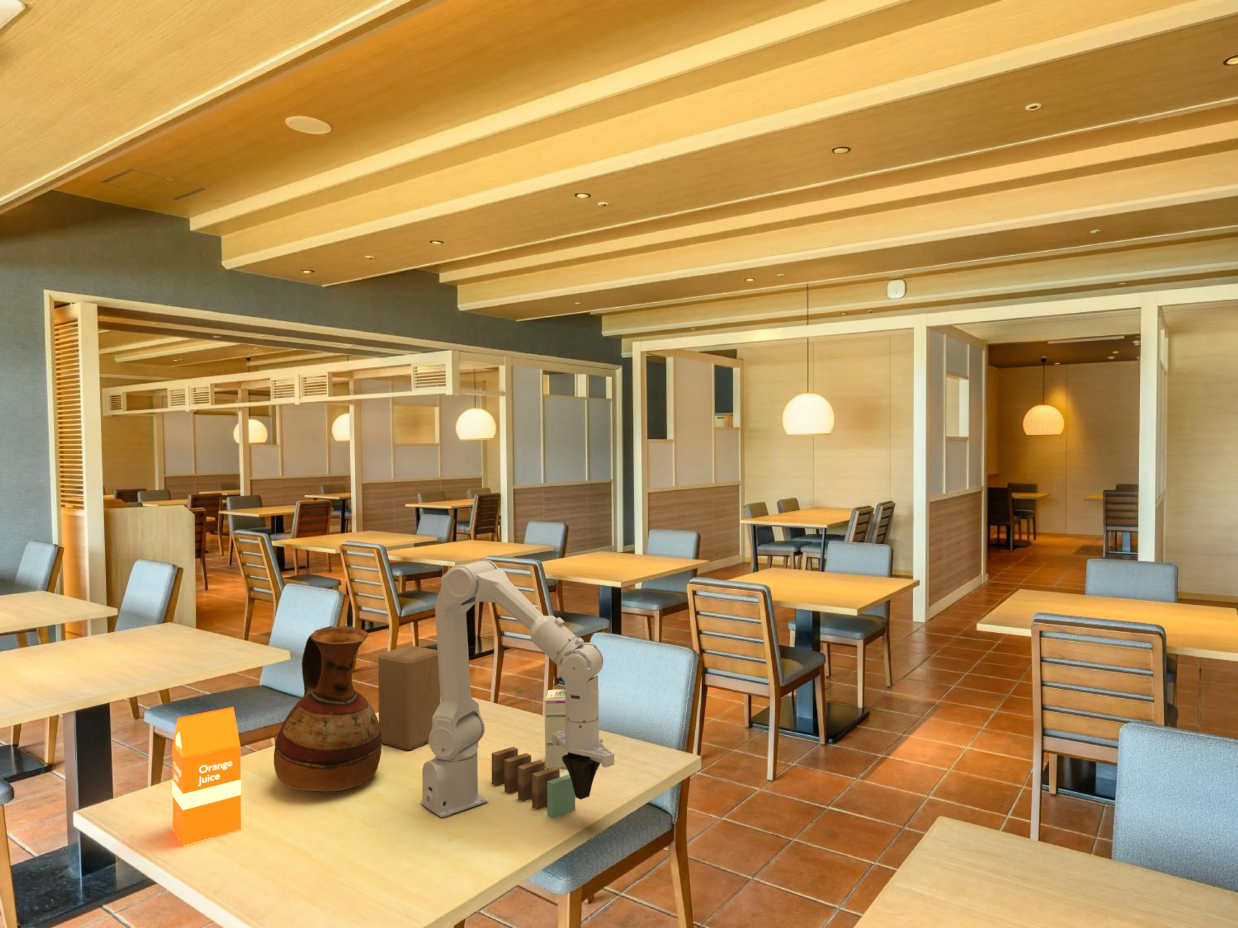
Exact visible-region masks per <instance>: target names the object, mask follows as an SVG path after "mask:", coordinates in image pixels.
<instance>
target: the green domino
mask: <svg viewBox="0 0 1238 928" xmlns="http://www.w3.org/2000/svg"><path fill="white" fill-rule="evenodd" d="M546 810H547V811H546V812H547V813H546V814H547V817H549V818H551V820H552V819H553V818H554V819H556V818H558V817H561V816H563V815H566V814H569V813H572V812H574V811H576V796H575V793H574V789H573V785H572V781H571V778H570V775H569V773H568V774H566V775H563V776H560V777H559V778H556V779H553V780H550V781H547V807H546Z"/></svg>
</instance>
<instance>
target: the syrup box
mask: <svg viewBox="0 0 1238 928" xmlns="http://www.w3.org/2000/svg"><path fill="white" fill-rule="evenodd" d="M560 731H562V732H565V689H562V688H561V689H560V688H559V689H550V690H549V689H548V690H547V693H546V695H544V742H545V743H544V745H545V746H544V747H545V751H544V752H545V753H544V754H545V769H548V768H551V767H556V768H559V769H560V770H562V769H563V770H565V769H566V770H567V768H566V766H565V764H564V762H563V761H562V756H564V755H567V754H568V752H567V751H566V750H565V749H564V748H563V747H562V746H560V745H557V746H555V745H553V744H552V734H553V733H556V732H560Z"/></svg>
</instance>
